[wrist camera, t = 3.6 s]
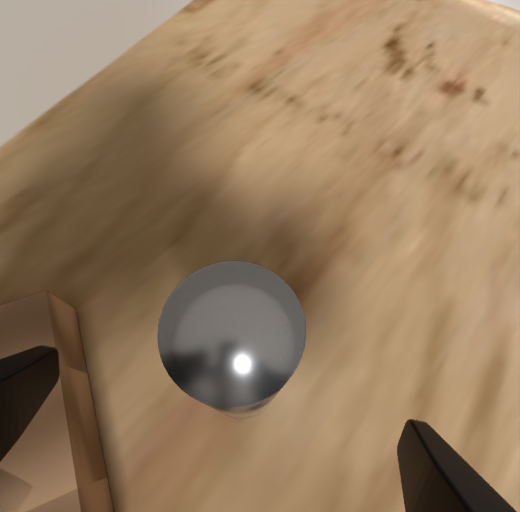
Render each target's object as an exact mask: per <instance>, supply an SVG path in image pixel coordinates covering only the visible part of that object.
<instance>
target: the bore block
mask: <svg viewBox="0 0 520 512" xmlns="http://www.w3.org/2000/svg"><path fill="white" fill-rule="evenodd" d="M39 345H45V346H50V347H55V348H56V349H57V350H58V352H59V366H60V376H59V380H58V382H57V384H56V385H55V387H54V388H53V390H52V391H51V393H50V394H49V396H48V397H47V399H46V400H45V402H44V403H43V405H42V406H41V408H40V409H39V411H38V412H37V414H36V415H35V417H34V418H33V419H32V421H31V422H30V424H29V425H28V427H27V428H26V430H25V431H24V433H23V434H22V435H21V437H20V438H19V439H18V441H17V442H16V443H15V445H14V446H13V447H12V448H11V450H10V451H9V452H8V453H7V455H6V456H5V457H4V458H3V459H2V461H1V462H0V512H114V510H113V505H112V500H111V494H110V489H109V484H108V479H107V473H106V468H105V463H104V458H103V452H102V447H101V442H100V437H99V431H98V426H97V421H96V416H95V410H94V405H93V400H92V395H91V389H90V384H89V379H88V374H87V368H86V363H85V358H84V353H83V347H82V342H81V337H80V331H79V326H78V321H77V316H76V310H75V309H74V308H72V307H71V306H69V305H68V304H67V303H65V302H64V301H62V300H61V299H59V298H58V297H56V296H55V295H53V294H52V293H50V292H49V291H47V290H44V291H41V292H38V293H35V294H32V295H29V296H27V297H24V298H21V299H18V300H15V301H12V302H9V303H6V304H3V305H0V359H2V358H5V357H8V356H10V355H13V354H16V353H19V352H22V351H25V350H28V349H31V348H33V347H36V346H39Z"/></svg>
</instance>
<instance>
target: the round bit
mask: <svg viewBox="0 0 520 512" xmlns="http://www.w3.org/2000/svg"><path fill="white" fill-rule="evenodd" d="M305 339H306V325H305V318H304V314H303V310H302V307H301V305H300V302H299V300H298V298H297V297H296V295H295V293H294V292H293V290H292V289H291V288H290V286H289V285H288V284H287V283H286V282H285V281H284V280H283V279H282V278H281V277H279V276H278V275H277V274H275V273H274V272H272V271H271V270H269V269H267V268H265V267H263V266H260V265H257V264H254V263H250V262H245V261H223V262H217V263H214V264H210V265H207V266H205V267H203V268H200V269H199V270H197V271H195V272H193V273H192V274H190V275H189V276H188V277H186V278H185V279H184V280H183V281H182V282H181V283H180V284H179V285H178V286H177V287H176V288H175V289H174V290H173V292H172V293H171V295H170V296H169V298H168V299H167V301H166V303H165V305H164V307H163V310H162V313H161V316H160V320H159V325H158V347H159V352H160V356H161V359H162V362H163V365H164V367H165V369H166V370H167V372H168V374H169V376H170V377H171V378H172V380H173V381H174V382H175V383H176V384H177V385H178V386H179V387H180V388H181V390H183V391H184V392H185V393H187V394H188V395H189V396H191V397H193V398H195V399H196V400H198V401H200V402H202V403H204V404H206V405H208V406H210V407H212V408H214V409H216V410H218V411H220V412H222V413H224V414H226V415H228V416H230V417H232V418H236V419H247V418H251V417H253V416H255V415H257V414H259V413H260V412H262V411H263V410H264V409H265V408H266V406H267V405H268V404H269V403H270V402H271V400H272V399H273V398H274V397H275V395H276V394H277V393H278V392H279V391H280V389H281V388H282V387H283V386H284V385H285V383H286V382H287V381H288V380H289V378H290V377H291V376H292V375H293V373H294V371H295V370H296V368H297V366H298V364H299V362H300V359H301V357H302V354H303V350H304V347H305Z"/></svg>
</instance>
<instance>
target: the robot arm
mask: <svg viewBox="0 0 520 512" xmlns="http://www.w3.org/2000/svg"><path fill="white" fill-rule="evenodd" d="M59 376H60V366H59V352H58V350H57V349H56V348H55V347H50V346H45V345H39V346H36V347H33V348H31V349H28V350H25V351H22V352H19V353H16V354H13V355H10V356H8V357H5V358H2V359H0V462H1V461H2V459H3V458H4V457H5V456H6V455H7V453H8V452H9V451H10V450H11V448H12V447H13V446H14V445H15V443H16V442H17V441H18V439H19V438H20V437H21V435H22V434H23V433H24V431H25V430H26V428H27V427H28V425H29V424H30V422H31V421H32V419H33V418H34V417H35V415H36V414H37V412H38V411H39V409H40V408H41V406H42V405H43V403H44V402H45V400H46V399H47V397H48V396H49V394H50V393H51V391H52V390H53V388H54V387H55V385H56V384H57V382H58V380H59ZM397 455H398V462H399V469H400V476H401V483H402V490H403V497H404V504H405V511H406V512H517V511H516V510H515V509H514V508H513V507H511V506H510V505H509V504H508V503H507V502H506V501H505V500H504V499H503V498H502V497H501V496H500V495H499V494H498V493H497V492H496V491H495V490H494V489H493V488H492V487H491V486H490V485H489V484H488V483H487V482H486V481H485V480H484V479H483V478H482V477H481V476H480V475H479V474H478V473H477V472H476V471H475V470H474V469H473V468H472V467H471V466H470V465H469V464H468V463H467V462H466V461H465V460H464V459H463V458H462V457H461V456H460V455H459V454H458V453H457V452H456V451H455V450H454V449H453V448H452V447H451V446H450V445H449V444H448V443H447V442H446V441H445V440H444V439H443V438H442V437H441V436H440V435H439V434H438V433H437V432H436V431H435V430H434V429H433V428H432V427H430V426H429V425H428V424H427V423H426V422H423V421H418V420H413V419H409V420H407V422H406V423H405V426H404V429H403V431H402V434H401V437H400V439H399V442H398V446H397Z"/></svg>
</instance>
